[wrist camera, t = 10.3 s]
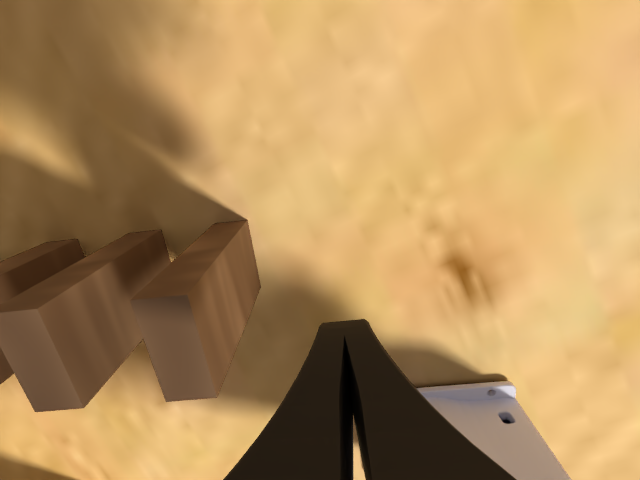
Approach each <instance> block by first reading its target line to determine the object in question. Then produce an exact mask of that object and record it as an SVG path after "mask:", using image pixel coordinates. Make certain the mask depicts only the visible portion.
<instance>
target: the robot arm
mask: <svg viewBox="0 0 640 480" xmlns="http://www.w3.org/2000/svg"><path fill="white" fill-rule="evenodd" d="M489 390H491V391H489ZM515 396H516V388H515V386H514V385H513V384H512V382H509V381H500V382H487V383H475V384H462V385H450V386H437V387H424V388H415V386H414V385H413V384H412V383H411V382H410V381H409V380H408V378H407V377H406V376H405V375H404V374H403V372H402V371H401V370H400V369H399V367H398V366H397V365H396V364H395V362H394V361H393V360H392V358H391V357H390V356H389V355H388V353H387V352H386V350H385V349H384V348H383V346H382V345H381V343H380V342H379V340H378V339H377V337H376V335H375V334H374V332H373V330H372V329H371V327H370V325H369V322H367V321H366V320H365V319H361V320H351V321H340V322H329V323H322V324H321V325H320V326H319V329H318V332H317V335H316V338H315V340H314V343H313V345H312V347H311V350H310V352H309V354H308V356H307V358H306V360H305V362H304V364H303V366H302V368H301V370H300V372H299V374H298V376H297V378H296V379H295V381H294V383H293V385H292V386H291V388H290V390H289V391H288V393H287V395H286V396H285V398H284V400H283V401H282V403H281V405H280V406H279V408H278V409H277V411H276V412H275V414H274V415H273V417H272V418H271V420H270V421H269V422H268V424H267V425H266V427H265V428H264V429H263V431H262V432H261V434H260V435H259V436H258V438H257V439H256V440H255V441H254V443H253V444H252V445H251V447H250V448H249V449H248V450H247V452H246V453H245V454H244V455H243V457H242V458H241V459H240V460H239V462H238V463H237V464H236V465H235V467H234V468H233V469H232V470H231V471H230V472H229V474H228V475H227V476H226V477H225V478H224V479H223V480H353V415H354V420H355V425H356V431H357V436H358V441H359V446H360V451H361V457H362V462H363V467H364V472H365V477H366V480H571V478H570V477H569V476H568V474H567V473H566V471H565V470H564V468H563V467H562V465H561V464H560V463H559V461H558V460H557V458H556V457H555V455H554V454H553V452H552V451H551V449H550V448H549V447H548V445H547V444H546V442H545V441H544V439H543V438H542V436H541V435H540V433H539V432H538V431H537V429H536V428H535V426H534V425H533V423H532V422H531V420H530V419H529V417H528V416H527V415H526V413H525V412H524V410H523V409H522V407H521V406H520V404H519V403H518V402H517V400H516V399H515Z"/></svg>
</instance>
